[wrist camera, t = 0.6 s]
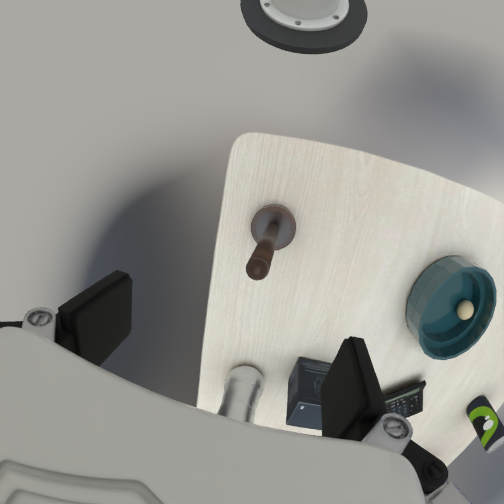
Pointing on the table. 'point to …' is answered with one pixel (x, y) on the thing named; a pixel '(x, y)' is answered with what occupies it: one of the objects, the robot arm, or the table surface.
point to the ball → (465, 309)
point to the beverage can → (486, 424)
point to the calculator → (406, 400)
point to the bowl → (450, 307)
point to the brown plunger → (269, 237)
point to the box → (306, 394)
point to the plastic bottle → (241, 393)
